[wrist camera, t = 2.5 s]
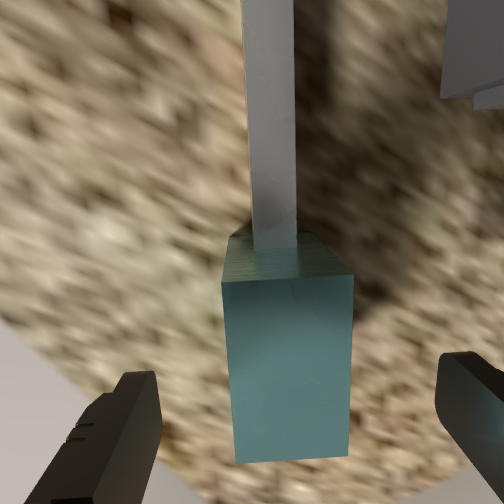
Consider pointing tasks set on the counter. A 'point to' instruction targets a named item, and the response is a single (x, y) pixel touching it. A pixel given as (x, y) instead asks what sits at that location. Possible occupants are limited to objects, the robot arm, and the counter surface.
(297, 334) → the tool
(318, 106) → the counter surface
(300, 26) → the counter surface
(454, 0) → the cabinet
